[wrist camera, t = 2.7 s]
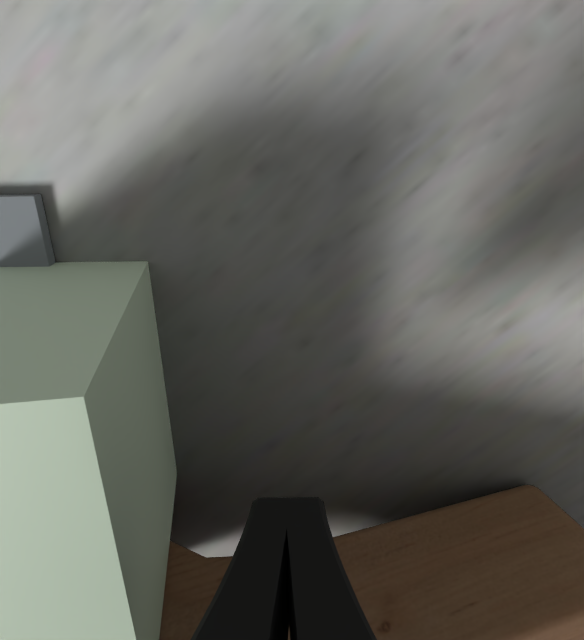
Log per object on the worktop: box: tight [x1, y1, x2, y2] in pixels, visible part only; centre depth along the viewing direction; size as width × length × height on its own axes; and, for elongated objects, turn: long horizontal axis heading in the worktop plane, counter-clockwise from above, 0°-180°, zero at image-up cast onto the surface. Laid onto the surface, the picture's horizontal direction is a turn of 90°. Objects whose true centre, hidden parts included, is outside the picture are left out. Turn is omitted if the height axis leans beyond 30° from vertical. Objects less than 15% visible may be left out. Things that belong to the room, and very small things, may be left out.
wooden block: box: [159, 485, 584, 640], centre depth 16 cm, size 9×4×18 cm
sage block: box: [0, 261, 177, 640], centre depth 12 cm, size 4×8×8 cm, turn 1°
